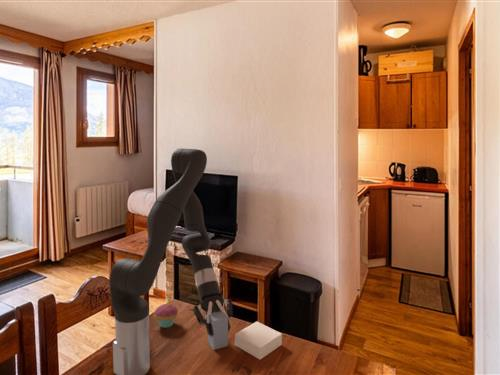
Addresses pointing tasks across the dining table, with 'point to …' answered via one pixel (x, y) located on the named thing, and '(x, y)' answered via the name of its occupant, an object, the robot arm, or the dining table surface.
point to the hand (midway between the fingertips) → (220, 333)
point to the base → (258, 340)
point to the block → (218, 330)
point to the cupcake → (166, 314)
